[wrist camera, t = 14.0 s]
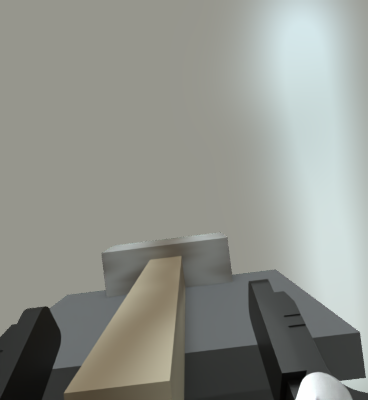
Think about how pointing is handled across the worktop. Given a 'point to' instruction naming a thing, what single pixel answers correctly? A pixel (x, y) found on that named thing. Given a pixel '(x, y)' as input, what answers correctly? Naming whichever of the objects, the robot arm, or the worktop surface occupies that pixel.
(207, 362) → the stand
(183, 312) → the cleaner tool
